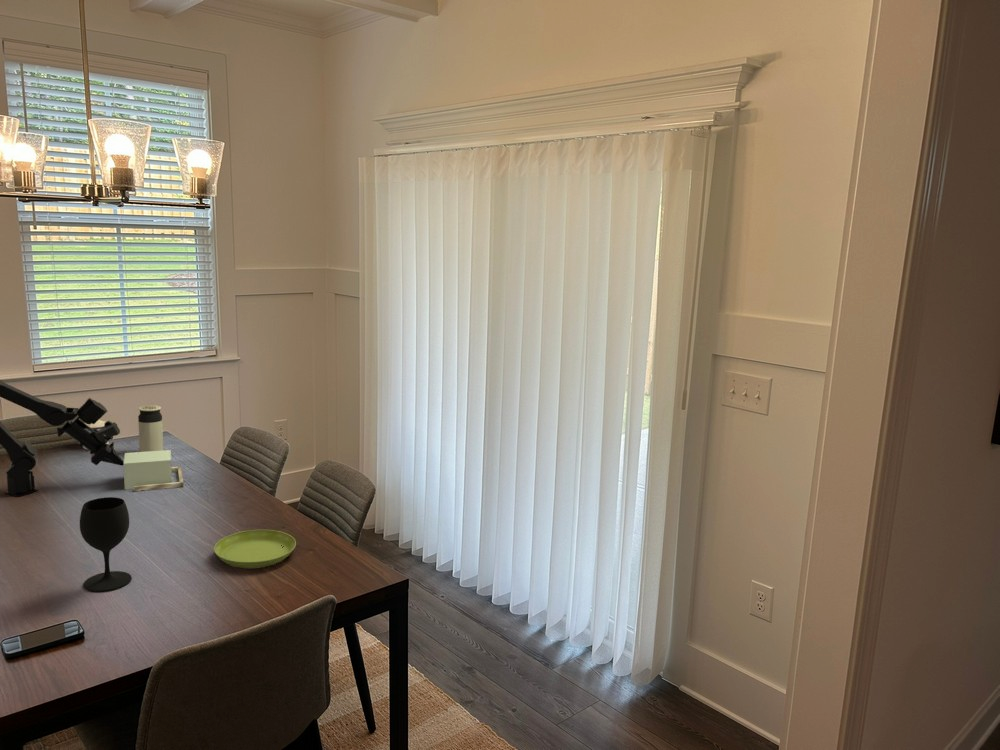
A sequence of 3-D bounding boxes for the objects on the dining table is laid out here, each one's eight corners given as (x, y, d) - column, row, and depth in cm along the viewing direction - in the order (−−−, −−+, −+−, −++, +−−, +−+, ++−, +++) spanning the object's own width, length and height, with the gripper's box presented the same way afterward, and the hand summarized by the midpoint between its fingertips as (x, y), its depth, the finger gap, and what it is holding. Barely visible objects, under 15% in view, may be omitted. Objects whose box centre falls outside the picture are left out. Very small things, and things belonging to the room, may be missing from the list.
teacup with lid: (80, 445, 281) (79, 415, 279) (107, 442, 287) (106, 413, 284) (84, 453, 272) (83, 423, 270) (112, 450, 277) (110, 420, 275)
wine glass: (120, 568, 184) (116, 492, 181) (139, 582, 178) (136, 504, 174) (75, 582, 176) (71, 503, 173) (94, 596, 170) (89, 515, 166)
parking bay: (134, 491, 237) (134, 487, 236) (135, 474, 253) (135, 470, 252) (183, 487, 243) (183, 482, 243) (181, 470, 259) (180, 466, 259)
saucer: (210, 576, 183) (209, 564, 183) (218, 542, 203) (218, 531, 202) (296, 570, 189) (296, 558, 188) (296, 537, 208) (296, 527, 208)
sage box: (124, 490, 238) (123, 463, 236) (126, 478, 249) (124, 453, 247) (172, 486, 244) (171, 460, 242) (171, 474, 255) (170, 449, 253)
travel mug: (148, 458, 270) (146, 411, 266) (135, 454, 274) (133, 407, 270) (167, 453, 276) (166, 407, 273) (154, 449, 281) (153, 404, 277)
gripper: (101, 423, 229) (142, 454, 235) (104, 409, 245) (142, 438, 252) (73, 449, 227) (115, 480, 233) (78, 433, 243) (117, 462, 250)
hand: (123, 464), depth 242 cm, fingers closed
